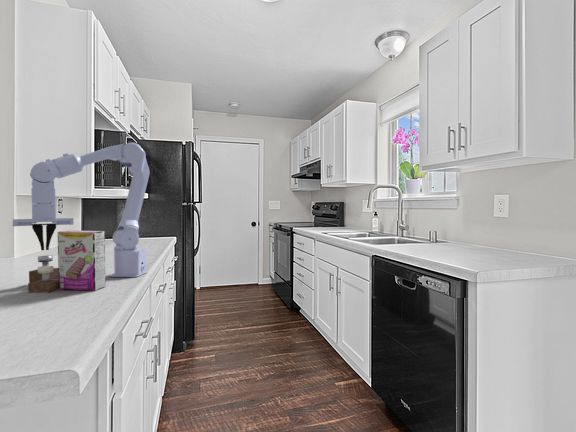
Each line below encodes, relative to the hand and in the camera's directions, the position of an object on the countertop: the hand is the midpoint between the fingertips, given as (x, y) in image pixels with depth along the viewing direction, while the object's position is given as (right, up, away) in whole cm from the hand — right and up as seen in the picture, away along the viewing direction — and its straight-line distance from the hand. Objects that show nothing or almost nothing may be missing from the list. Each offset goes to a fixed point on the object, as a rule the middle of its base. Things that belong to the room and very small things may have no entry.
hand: (45, 249), depth 102 cm
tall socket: (0, -10, 0) cm, 10 cm away
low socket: (+5, -11, -6) cm, 13 cm away
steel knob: (0, -8, 0) cm, 8 cm away
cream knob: (+5, -9, -6) cm, 12 cm away
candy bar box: (+14, -11, -4) cm, 18 cm away
